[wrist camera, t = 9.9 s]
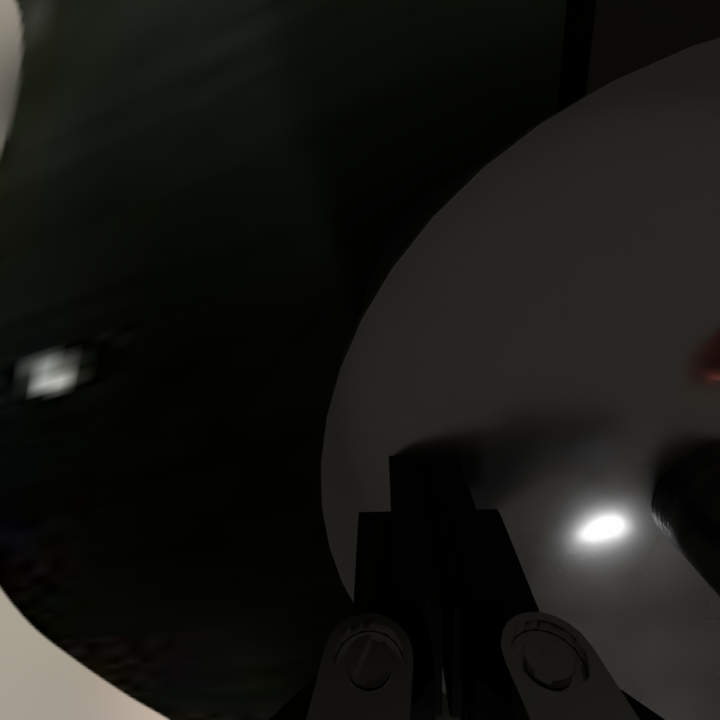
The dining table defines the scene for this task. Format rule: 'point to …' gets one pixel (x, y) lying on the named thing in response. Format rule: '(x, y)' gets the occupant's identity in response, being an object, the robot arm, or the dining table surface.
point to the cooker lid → (568, 372)
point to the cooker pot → (594, 68)
